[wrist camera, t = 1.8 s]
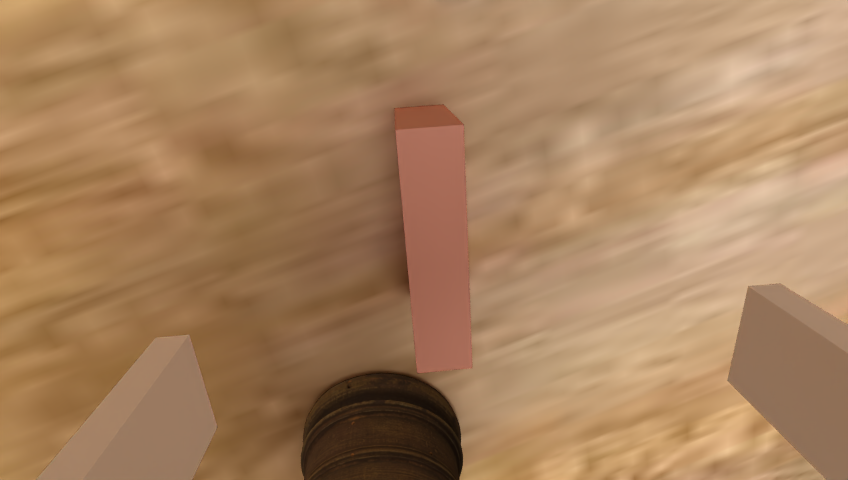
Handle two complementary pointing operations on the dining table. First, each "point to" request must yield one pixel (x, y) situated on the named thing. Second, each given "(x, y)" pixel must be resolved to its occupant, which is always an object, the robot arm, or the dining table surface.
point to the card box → (435, 234)
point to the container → (382, 432)
